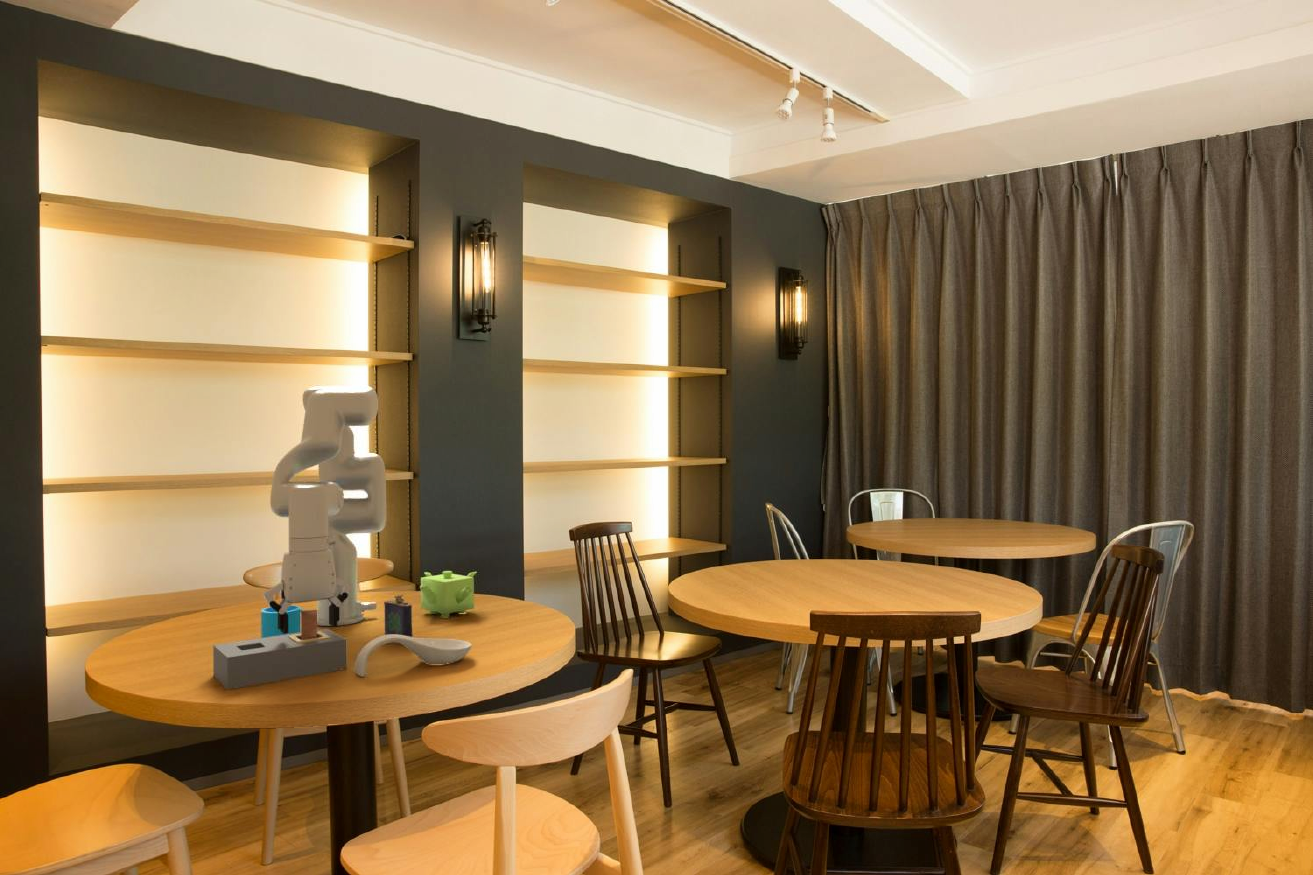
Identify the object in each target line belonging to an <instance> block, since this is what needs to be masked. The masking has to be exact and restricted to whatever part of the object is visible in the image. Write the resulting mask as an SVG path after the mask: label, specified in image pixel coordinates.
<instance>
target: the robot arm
mask: <svg viewBox="0 0 1313 875" xmlns="http://www.w3.org/2000/svg"><path fill="white" fill-rule="evenodd" d="M302 403H303V404H302V405H303V408H304V411H305V412H304V419H303V424H302V431H301V432H302V433H301V441H300V443H298V444H297V445H294V447H292V448H291V449H290V450H289V451H287V453H286V454H285V455H283V457H282V458H280V461H279V462H278V463H277V465H276V467H275V469H274V473H273V478H272V482H271V484H272V485H271V489H270V490H271V491H270V498H269V499H270V501H269V504H270V508H271V511H272V513H274V515H276V516H277V517H281V518H288V552H285V553H284V554H283V557H282V562H281V570H280V571H281V572H280V580H279V581H280V582H279V583H278V584H275V585H274V586H272V587H271V588H269V589H267V590H266V591H264V592H263V593H262V596H263V598H264V600H265V601H266V603H267V605H268V606H269V607H271V608H273V609H274V610H275V611H276V612H278V629H279V630H280V631H281V632H282V633H283V634H287V633H288V614H287V613H286V611H287V609H288V608H289V607H290V606H292V604H302V603H309V602H317V608H316V610H317V626H320V627H322V626H323V627H334V628H336V627H339V626H346V625H351V624H357V623H359V622H362V621H363V620H364V619H365V614H364V612H365V611H374V610H376V609H377V608H378V607H377V603H376V602H377V601H373V602H368V601H367V602H361V601H360V600H358V551H357V548H356V546H355V544H354V543H353V542H352V541H351V540H350V538H349V537H348V536H347V535H352V534H374V533H379V532H381V531H383V530H384V529H385V527H386V523H387V487H386V486H387V482H386V480H387V478H386V467H385V462H384V460H383V458H382V456H380V455H379V454H376V453H368V452H367V453H366V452H363V453H357V452H356V451H355V445H354V443H355V436H354V432H353V430H352V428H351V427H365V426H369V425H370V424H372V422H373V421H374V420H375V419H376V417H377V414H378V412H379V396H378V395H377V392H376V390H375V389H374V388H372V387H370V386H343V385H342V386H340V385H336V386H335V385H332V386H331V385H330V386H327V385H326V386H325V385H324V386H323V385H322V386H321V385H320V386H313V387H309V388H307V389H305V390H304V391H303V394H302ZM314 466H318V469H317V470H318V481H292V479H293V478H294V477H295V476H296V475H298V474H299V473H301V472H303V471H305V470H307V469H311V468H312V467H314ZM355 491H356V492H359V491H361V492H365V493H366V494H367V495H345V494H344V492H355ZM276 594H279V597H280V599H281V601H279V603H278V602H276V600H275V599H274V596H275V595H276Z"/></svg>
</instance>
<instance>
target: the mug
mask: <svg viewBox="0 0 1313 875" xmlns="http://www.w3.org/2000/svg"><path fill="white" fill-rule="evenodd" d="M303 610H304V609H302V608H301V607H300V606H299V605H291V606H290V607H289V608H288V609H287V611H286V613H287V614H288V633H287V634H293V633H300V632H301V611H303ZM279 635H286V634H283V633H282V632H281V631H280V630H279V629H278V612H276V611H275V610H274V609H273V608H271V607H270V606H269V607H265V608H262V609H261V610H260V638H265V637H272V636H279Z"/></svg>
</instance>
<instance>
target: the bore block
mask: <svg viewBox="0 0 1313 875" xmlns="http://www.w3.org/2000/svg"><path fill="white" fill-rule="evenodd" d="M212 647H213V650H212V651H213V654H212V655H213V656H212V657H213V660H212V661H213V662H212V663H213V668H212V669H213V676H214V678H216V680H217V681H218V682H219V683H221V685H222V686H224V687H225V689H226V690H227V689H229V690H234V689H239V688H246V687H251V686H256V685H261V684H262V685H263V684H268V683H273V682H279V681H284V680H285V681H286V680H290V679H291V680H292V679H296V678H303V677H308V676H314V675H318V674H324V673H325V674H327V673H329V672H330V673H331V671H332V672H336V670H337V671H342V670H341V669H343V670H347V669H346V668H347V667H348V666H347V639H346V637H342V636H341V635H340V634H338V633H336V632H334V631H332V630H330V629H329V628H323V629H317V638H312V639H306V640H301V632H300V633H293V634H286V635H279V636H272V637H265V638H261V637H259V638H254V639H253V638H252V639H244V640H238V641H233V642H225V643H219V644H217V643H216V644H213V645H212Z"/></svg>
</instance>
